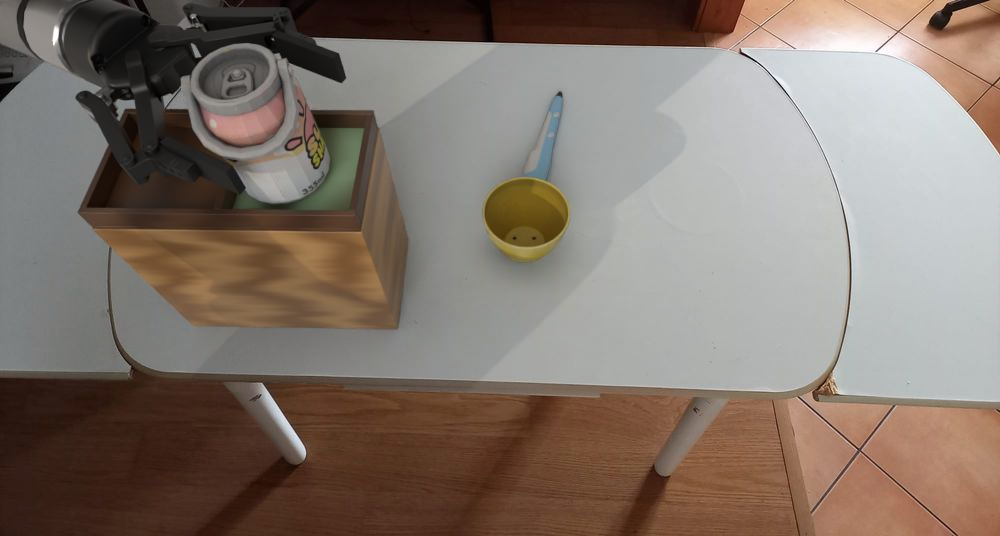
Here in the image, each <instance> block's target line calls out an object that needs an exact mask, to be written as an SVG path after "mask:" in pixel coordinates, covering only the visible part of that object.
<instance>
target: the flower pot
mask: <svg viewBox="0 0 1000 536" xmlns="http://www.w3.org/2000/svg"><path fill="white" fill-rule="evenodd" d="M482 219H483V224H484V227H485V229H486V232H487V235H488V237H489V238H490V240H491V241H492V243H493V244H494V246H495V247H496V248H497V249H498V250H499V252H501V253H502V254H503V255H504V256H506V257H507V258H509V259H511V260H513V261H515V262H520V263H531V262H535V261H538V260H540V259H542V258H543V257H545V256H546V255H548V254H549V253H551V252H552V251H553V250H554V249H555V247H556V246H557V245H558V244H559V243H560V241H561V240H562V238H563V237H564V235H565V233H566V231H567V229H568V226H569V224H570V221H571V207H570V203H569V201H568V199H567V197H566V196H565V194H564V192H563V191H562V190H561V189H559V188H558V186H556V185H554V184H553V183H552V182H549V181H547V180H546V181H544V180H541V179H538V178H533V177H522V176H520V177H513V178H510V179H507V180H505V181H502V182H500V183H499V184H498V185H497V184H496V186H494V188H492V189H491V190H490V192H489V193H487V196H486V198H485V199H484V202H483V205H482ZM514 238H515V239H514ZM533 238H534V239H533Z"/></svg>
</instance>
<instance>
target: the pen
mask: <svg viewBox="0 0 1000 536" xmlns="http://www.w3.org/2000/svg"><path fill="white" fill-rule="evenodd" d="M563 103H564V97H563V92H562V90H560V91H558V92H557V93H556V95H555V96H554V97H553V99H552V101H551V103H550V105H549V108H548V111H547V114H546V117H545V119H544V123H543V125H542V128H541V131H540V134H539V136H538V139H537V141H536V143H535V145H534V148H533V149H532V150H531V151H530V152H529V154H528V155H527V158H526V162H525V165H524V167H523V171H522V175H521V177H533V178H538V179H541V180H544V181H547V177H548V174H549V170H550V167H551V163H552V153H553V148H554V143H555V140H556V136H557V132H558V128H559V123H560V119H561V115H562V110H563Z"/></svg>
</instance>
